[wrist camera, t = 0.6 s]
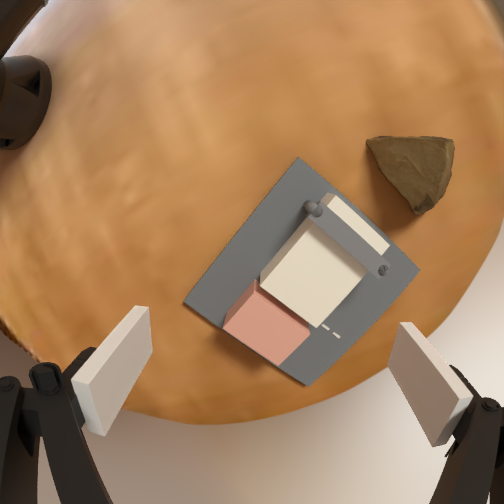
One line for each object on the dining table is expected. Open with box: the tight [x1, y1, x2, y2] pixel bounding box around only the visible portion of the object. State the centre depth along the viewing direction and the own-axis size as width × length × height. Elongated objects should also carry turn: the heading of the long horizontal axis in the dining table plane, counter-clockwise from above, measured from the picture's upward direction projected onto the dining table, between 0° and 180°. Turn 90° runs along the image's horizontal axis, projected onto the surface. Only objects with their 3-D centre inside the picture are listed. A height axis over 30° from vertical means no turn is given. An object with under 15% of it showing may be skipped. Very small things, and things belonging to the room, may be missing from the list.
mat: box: [184, 157, 420, 387], centre depth 37 cm, size 21×22×1 cm
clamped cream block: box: [260, 193, 391, 328], centre depth 33 cm, size 11×12×6 cm
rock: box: [366, 136, 455, 215], centre depth 31 cm, size 11×9×10 cm
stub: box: [223, 279, 310, 366], centre depth 35 cm, size 8×6×4 cm
